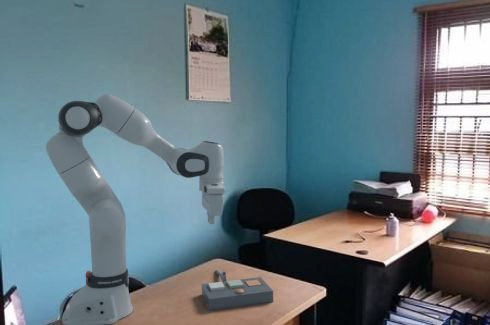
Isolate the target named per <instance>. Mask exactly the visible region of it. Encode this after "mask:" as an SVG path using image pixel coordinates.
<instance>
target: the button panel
mask: <svg viewBox="0 0 490 325" xmlns="http://www.w3.org/2000/svg"><path fill="white" fill-rule="evenodd" d="M240 280H241V282H242V283H243V284H244V288H236V289H229V288H228V286H227V281H228V280H226V281H224V282H222V281H221V282H222V283H223V285H224V286H225V290H220V291H212V292H210V290H209V288H208V283H207V282H206V283H201V296H202V298H203V299H204V302H205V304H206V307H207V309H208V311H216V310H223V309H230V308H237V307H244V306H250V305H251V306H253V305H260V304H266V303H267V304H268V303H273V302H274V290H273V289H272V287H270V285H268V283H267V282H266V281H265V280H264V279H263V278H262V277H261V276H259V277H250V278H241V279H240ZM250 280H259V282H260V283H261V284H262V285H260V286H252V287H248V286H247V285H246V283H245V281H250Z"/></svg>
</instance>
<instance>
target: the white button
mask: <svg viewBox="0 0 490 325" xmlns="http://www.w3.org/2000/svg"><path fill="white" fill-rule="evenodd" d="M208 288H209V290H210V292H212V291H220V290H225V286H224V285H223V283H222V281H218V282H217V281H216V282H209V283H208Z"/></svg>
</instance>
